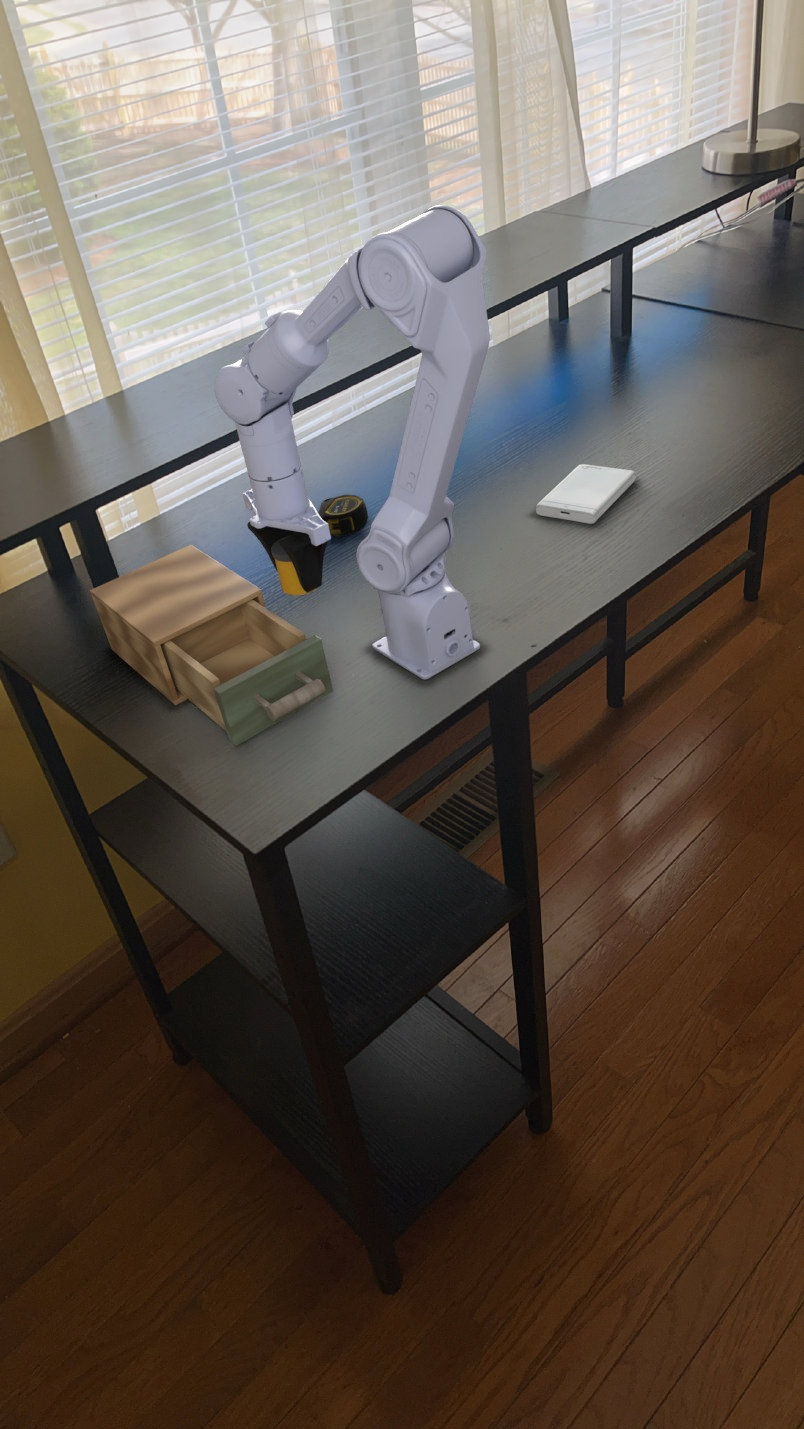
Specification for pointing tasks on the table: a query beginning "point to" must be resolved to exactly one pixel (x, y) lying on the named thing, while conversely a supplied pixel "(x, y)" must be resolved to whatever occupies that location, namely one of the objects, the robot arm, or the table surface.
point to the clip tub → (286, 571)
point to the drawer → (248, 669)
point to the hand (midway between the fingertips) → (300, 580)
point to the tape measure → (344, 514)
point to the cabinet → (166, 608)
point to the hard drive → (585, 493)
